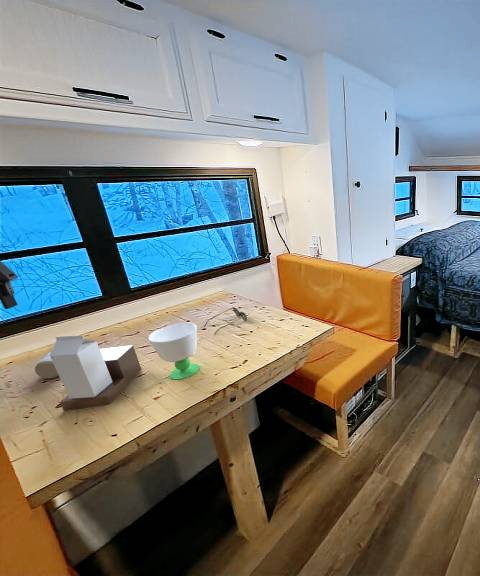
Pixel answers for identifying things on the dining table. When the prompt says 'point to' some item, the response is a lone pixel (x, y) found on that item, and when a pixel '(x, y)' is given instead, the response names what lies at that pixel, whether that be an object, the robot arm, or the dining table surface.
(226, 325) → the sunglasses
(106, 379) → the milk carton
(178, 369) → the cup
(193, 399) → the dining table surface
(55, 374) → the ceramic mug
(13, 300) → the robot arm
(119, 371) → the shelf stand
